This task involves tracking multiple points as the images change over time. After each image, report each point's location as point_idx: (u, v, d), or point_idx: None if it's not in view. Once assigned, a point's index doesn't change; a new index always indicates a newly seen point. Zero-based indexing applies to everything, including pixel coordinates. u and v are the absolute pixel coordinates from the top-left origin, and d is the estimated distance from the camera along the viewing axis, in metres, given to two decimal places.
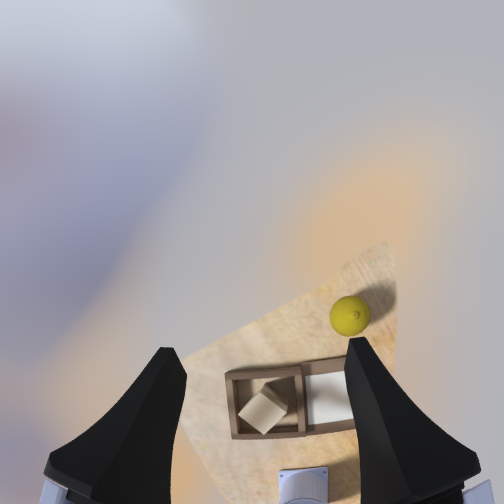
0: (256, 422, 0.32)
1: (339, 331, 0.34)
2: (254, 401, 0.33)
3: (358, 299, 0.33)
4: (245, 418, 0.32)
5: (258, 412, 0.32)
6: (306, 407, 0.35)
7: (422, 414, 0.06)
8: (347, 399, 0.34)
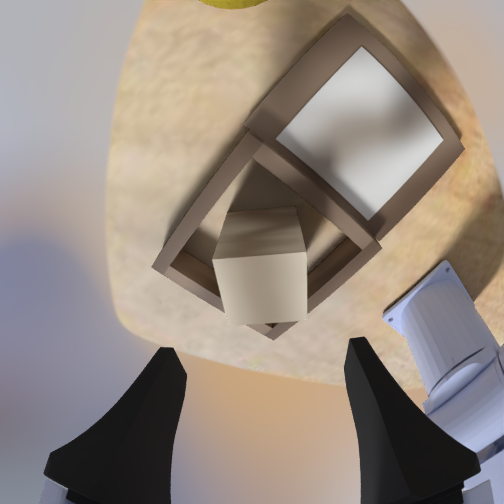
0: (271, 312, 0.15)
1: None
2: (223, 282, 0.14)
3: None
4: (246, 321, 0.16)
5: (253, 295, 0.15)
6: (336, 193, 0.16)
7: (422, 414, 0.06)
8: (395, 121, 0.14)
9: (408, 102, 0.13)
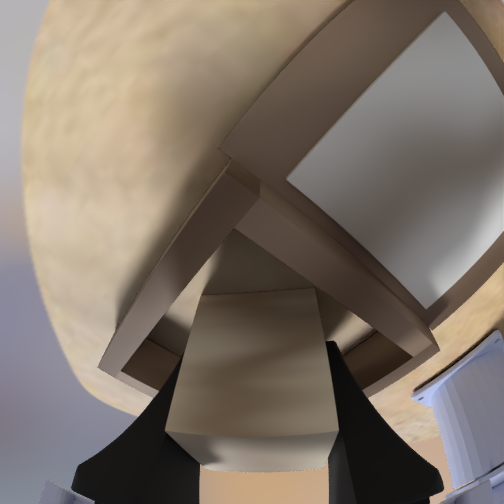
0: (270, 468, 0.08)
1: None
2: (191, 448, 0.07)
3: None
4: (233, 470, 0.08)
5: (241, 459, 0.07)
6: (388, 274, 0.09)
7: (384, 424, 0.06)
8: (492, 152, 0.06)
9: None
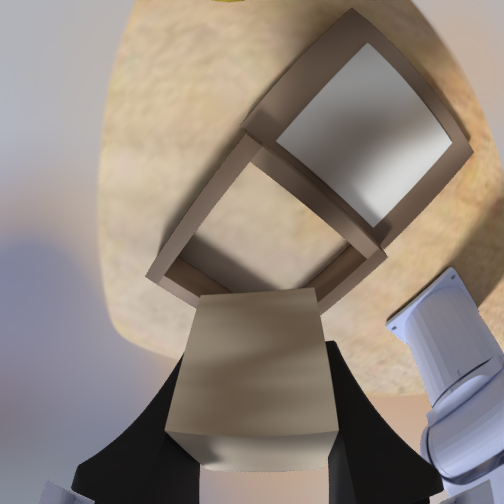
0: (270, 467, 0.08)
1: None
2: (191, 448, 0.07)
3: None
4: (233, 470, 0.08)
5: (241, 458, 0.07)
6: (340, 199, 0.15)
7: (384, 424, 0.06)
8: (403, 122, 0.13)
9: (416, 102, 0.12)
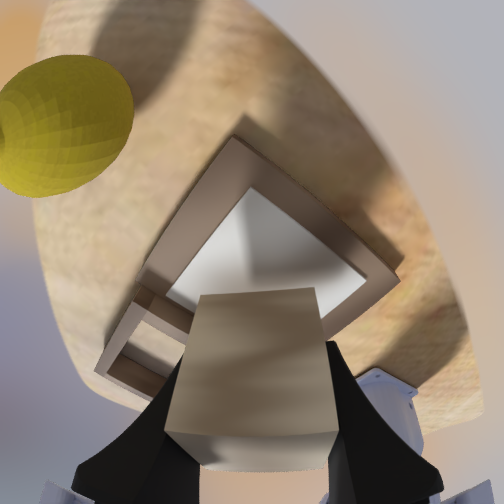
0: (270, 468, 0.08)
1: (57, 194, 0.08)
2: (191, 448, 0.07)
3: None
4: (232, 470, 0.08)
5: (241, 459, 0.07)
6: None
7: (384, 424, 0.06)
8: (298, 272, 0.14)
9: (317, 249, 0.13)
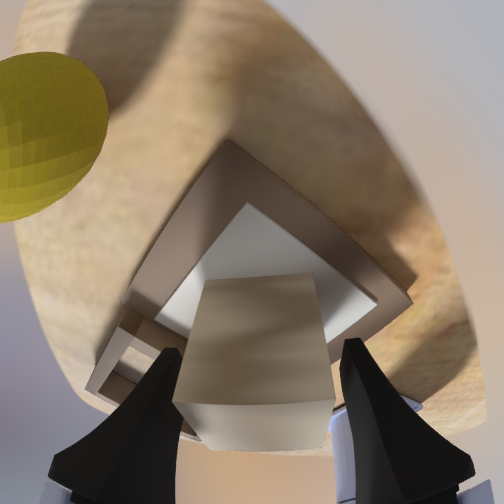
0: (271, 445, 0.09)
1: (20, 218, 0.06)
2: (196, 422, 0.08)
3: None
4: (235, 449, 0.09)
5: (244, 434, 0.08)
6: None
7: (416, 416, 0.06)
8: None
9: (323, 272, 0.12)
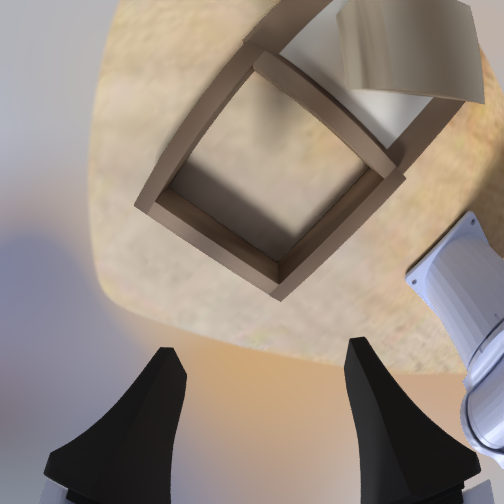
0: (449, 75, 0.06)
1: None
2: (389, 9, 0.05)
3: None
4: (419, 83, 0.07)
5: (427, 38, 0.06)
6: (349, 115, 0.13)
7: (422, 414, 0.06)
8: None
9: None
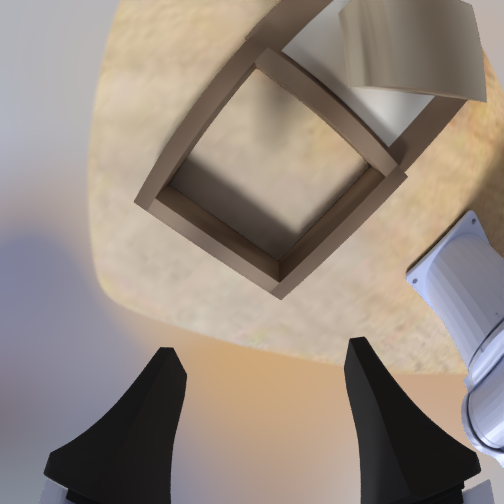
0: (451, 73, 0.06)
1: None
2: (393, 6, 0.05)
3: None
4: (422, 80, 0.07)
5: (430, 36, 0.06)
6: (351, 112, 0.13)
7: (422, 414, 0.06)
8: None
9: None
